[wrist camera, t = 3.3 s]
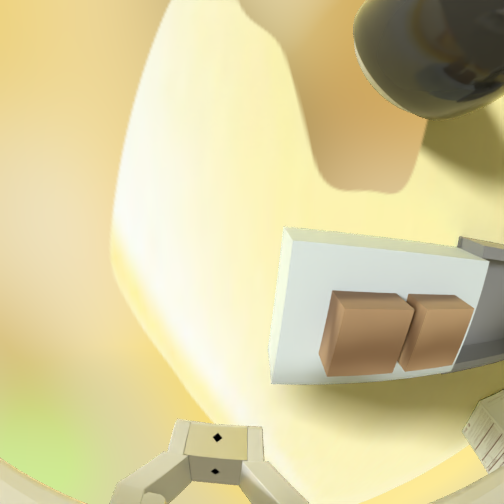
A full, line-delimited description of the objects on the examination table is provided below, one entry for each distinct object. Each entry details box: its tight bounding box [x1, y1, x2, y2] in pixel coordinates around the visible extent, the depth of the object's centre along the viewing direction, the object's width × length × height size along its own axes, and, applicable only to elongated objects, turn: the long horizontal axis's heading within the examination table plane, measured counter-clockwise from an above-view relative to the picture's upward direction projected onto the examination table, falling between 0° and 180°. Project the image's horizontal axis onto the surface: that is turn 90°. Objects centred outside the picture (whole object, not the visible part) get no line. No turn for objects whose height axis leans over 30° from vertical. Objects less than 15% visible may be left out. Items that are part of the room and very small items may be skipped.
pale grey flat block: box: [268, 226, 489, 385], centre depth 19 cm, size 10×16×4 cm, turn 85°
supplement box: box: [462, 390, 504, 474], centre depth 21 cm, size 7×7×13 cm
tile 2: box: [397, 294, 474, 372], centre depth 16 cm, size 4×4×2 cm
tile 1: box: [318, 290, 414, 377], centre depth 16 cm, size 4×4×2 cm
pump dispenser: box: [353, 0, 504, 121], centre depth 9 cm, size 10×10×15 cm
